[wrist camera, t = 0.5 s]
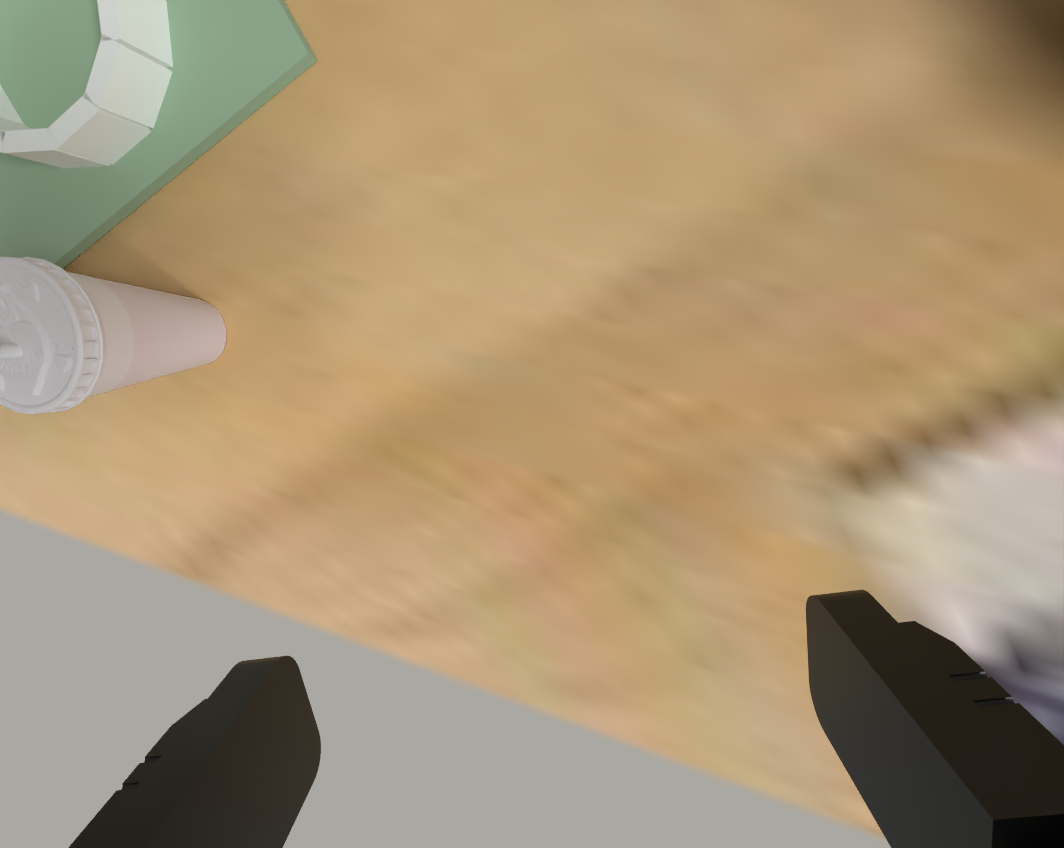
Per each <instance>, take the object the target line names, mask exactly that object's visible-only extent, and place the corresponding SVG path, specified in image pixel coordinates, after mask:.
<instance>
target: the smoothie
mask: <svg viewBox="0 0 1064 848" xmlns="http://www.w3.org/2000/svg"><path fill="white" fill-rule="evenodd" d="M225 344H226V328H225V324H224V321H223V319H222V317H221V315H220V314H219V312H218V311H217V310H216V309H215V308H214V307H213V306H212V305H211V304H209V303H208V302H206V301H204V300H200V299H196V298H191V297H186V296H181V295H176V294H171V293H167V292H162V291H157V290H152V289H147V288H142V287H137V286H133V285H128V284H123V283H118V282H113V281H108V280H104V279H99V278H94V277H89V276H85V275H81V274H75V273H70V272H66V271H65V270H64V269H62V268H61V267H59V266H57V265H55V264H53V263H51V262H48V261H46V260H44V259H38V258H32V257H22V258H15V257H0V405H2V406H4V407H6V408H8V409H10V410H13V411H16V412H19V413H25V414H39V413H46V412H58V411H65V410H68V409H70V408H72V407H74V406H76V405H78V404H80V403H81V402H82V401H83V400H84V399H85V398H86V397H89V396H93V395H97V394H101V393H105V392H107V391H111V390H115V389H118V388H122V387H125V386H129V385H133V384H136V383H140V382H144V381H147V380H151V379H154V378H158V377H162V376H165V375H169V374H173V373H176V372H180V371H184V370H187V369H191V368H194V367H198V366H202V365H205V364H209V363H211V362H213V361H215V360H216V359H217V358H218V357H219V356H220V355H221V353H222V352H223V350H224V347H225Z"/></svg>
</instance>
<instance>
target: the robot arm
mask: <svg viewBox="0 0 1064 848" xmlns="http://www.w3.org/2000/svg"><path fill="white" fill-rule="evenodd" d="M806 623H807V645H808V666H809V685H810V692H811V697H812V701H813V704H814V708H815V711H816V714H817V717H818V719H819V722H820V724H821V726H822V728H823V730H824V732H825V734H826V736H827V737H828V739H829V741H830V742H831V744H832V746H833V748H834V749H835V751H836V753H837V755H838V756H839V758H840V760H841V761H842V763H843V765H844V767H845V768H846V770H847V772H848V774H849V775H850V777H851V779H852V780H853V782H854V784H855V786H856V787H857V789H858V791H859V793H860V794H861V796H862V798H863V799H864V801H865V803H866V805H867V806H868V808H869V810H870V812H871V813H872V815H873V817H874V818H875V820H876V822H877V824H878V825H879V827H880V829H881V831H882V832H883V834H884V836H885V837H886V839H887V841H888V843H889V844H890V846H891V848H1064V745H1063V744H1062V743H1061V742H1060V741H1059V740H1058V739H1057V738H1055V737H1054V736H1053V735H1052V734H1051V733H1050V732H1049V731H1048V730H1047V729H1046V728H1045V727H1044V726H1043V725H1042V724H1041V723H1040V722H1038V721H1037V720H1036V719H1035V718H1034V717H1033V716H1032V715H1031V714H1030V713H1029V712H1028V711H1027V710H1026V709H1025V708H1024V707H1022V706H1021V705H1020V704H1019V703H1017V704H1015V703H1014V702H1013V700H1012V696H1011V695H1010V694H1009V693H1008V692H1006V691H1005V690H1004V689H1003V688H1002V687H1001V686H1000V685H999V684H998V683H997V682H996V681H995V680H994V679H993V678H992V677H991V678H988V677H987V676H986V674H985V671H984V670H983V669H982V668H981V667H980V666H979V665H978V664H977V663H976V662H975V661H973V660H972V659H971V658H970V657H969V656H968V655H967V654H966V653H965V652H964V651H963V650H962V649H961V648H960V647H959V646H957V645H956V644H955V643H954V642H952V641H950V640H948V639H947V638H945V637H943V636H941V635H939V634H937V633H935V632H934V631H932V630H930V629H928V628H926V627H924V626H922V625H921V624H919V623H917V622H915V621H910V622H901V623H898V622H897V621H896V620H895V619H894V618H893V617H892V616H891V615H890V614H889V613H888V612H887V611H886V610H885V609H884V608H883V607H882V606H881V605H880V604H879V603H878V602H877V601H876V600H875V598H874V597H873V596H872V595H871V594H869V593H868V592H867V591H865V590H856V591H847V592H839V593H830V594H822V595H813V596H809V597H808V599H807V603H806ZM320 754H321V742H320V735H319V731H318V727H317V724H316V721H315V718H314V715H313V712H312V708H311V705H310V702H309V699H308V695H307V692H306V689H305V686H304V683H303V680H302V676H301V673H300V670H299V667H298V665H297V663H296V661H295V660H294V659H293V658H292V657H290V656H281V657H273V658H264V659H256V660H247V661H242V662H239V663H238V664H236V665H235V666H234V667H233V668H232V669H231V671H230V672H229V673H228V674H227V676H226V677H225V678H224V679H223V681H222V682H221V683H220V684H219V686H218V687H217V688H216V689H215V691H214V692H213V693H212V694H211V695H210V697H209V698H208V699H205V700H203V701H202V702H201V703H200V704H199V705H197V706H196V707H195V708H193V709H192V710H191V711H189V712H188V713H187V714H186V715H185V716H183V717H182V718H181V719H179V720H178V721H177V722H176V723H174V724H173V725H172V726H171V727H170V728H169V729H168V731H167V732H166V733H165V734H164V735H163V736H162V737H161V739H160V740H159V741H158V742H157V743H156V745H155V746H154V747H153V748H152V749H151V751H150V752H149V753H148V754H147V755H146V756H145V762H144V763H140V764H139V765H138V766H137V767H136V768H135V769H134V771H133V772H132V773H131V774H130V775H129V777H128V778H127V779H126V780H125V781H124V783H123V788H122V790H119V791H116V792H115V793H114V794H113V796H112V797H111V798H110V799H109V800H108V801H107V803H106V804H105V805H104V806H103V808H102V809H101V810H100V811H99V812H98V813H97V815H96V816H95V817H94V818H93V819H92V820H91V822H90V823H89V824H88V825H87V826H86V828H85V829H84V830H83V831H82V832H81V833H80V835H79V836H78V837H77V838H76V840H75V841H74V842H73V843H72V844H71V845H70V847H69V848H282V847H283V845H284V843H285V841H286V839H287V837H288V835H289V832H290V831H291V828H292V826H293V824H294V822H295V820H296V818H297V816H298V813H299V811H300V809H301V807H302V805H303V803H304V801H305V799H306V797H307V795H308V792H309V790H310V788H311V786H312V784H313V782H314V780H315V777H316V774H317V771H318V767H319V762H320Z"/></svg>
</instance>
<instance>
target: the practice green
mask: <svg viewBox="0 0 1064 848" xmlns="http://www.w3.org/2000/svg"><path fill="white" fill-rule="evenodd" d="M316 61H317V59H316V57H315V56H314V54H313V52H312V50H311V48H310V47H309V45H308V43H307V41H306V39H305V38H304V36H303V34H302V32H301V31H300V29H299V27H298V25H297V23H296V22H295V20H294V18H293V16H292V15H291V13H290V11H289V9H288V7H287V6H286V4H285V2H284V0H0V255H1V257H15V258H22V257H32V258H38V259H44V260H46V261H48V262H51V263H53V264H55V265H57V266H59V267H61V268H62V269H63V268H64V267H66V266H67V265H68V264H69V263H71V262H72V261H73V260H74V259H75V258H77V257H78V256H79V255H80V254H82V253H83V252H84V251H85V250H86V249H88V248H89V247H90V246H91V245H93V244H94V243H95V242H96V241H97V240H99V239H100V238H101V237H102V236H104V235H105V234H106V233H107V232H108V231H110V230H111V229H112V228H113V227H115V226H116V225H117V224H118V223H119V222H121V221H122V220H123V219H124V218H126V217H127V216H128V215H129V214H130V213H132V212H133V211H134V210H135V209H137V208H138V207H139V206H140V205H141V204H143V203H144V202H145V201H146V200H148V199H149V198H150V197H151V196H152V195H154V194H155V193H156V192H157V191H159V190H160V189H161V188H162V187H163V186H165V185H166V184H167V183H168V182H170V181H171V180H172V179H173V178H174V177H176V176H177V175H178V174H179V173H181V172H182V171H183V170H184V169H185V168H187V167H188V166H189V165H190V164H192V163H193V162H194V161H195V160H196V159H198V158H199V157H200V156H201V155H203V154H204V153H205V152H206V151H207V150H209V149H210V148H211V147H212V146H214V145H215V144H216V143H217V142H218V141H220V140H221V139H222V138H223V137H225V136H226V135H227V134H228V133H229V132H231V131H232V130H233V129H234V128H236V127H237V126H238V125H239V124H240V123H242V122H243V121H244V120H245V119H247V118H248V117H249V116H250V115H251V114H253V113H254V112H255V111H256V110H258V109H259V108H260V107H261V106H262V105H264V104H265V103H266V102H267V101H269V100H270V99H271V98H272V97H273V96H275V95H276V94H277V93H278V92H280V91H281V90H282V89H283V88H284V87H286V86H287V85H288V84H289V83H291V82H292V81H293V80H294V79H295V78H297V77H298V76H299V75H300V74H302V73H303V72H304V71H305V70H306V69H308V68H309V67H310V66H311V65H313V64H314V63H315V62H316Z"/></svg>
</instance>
